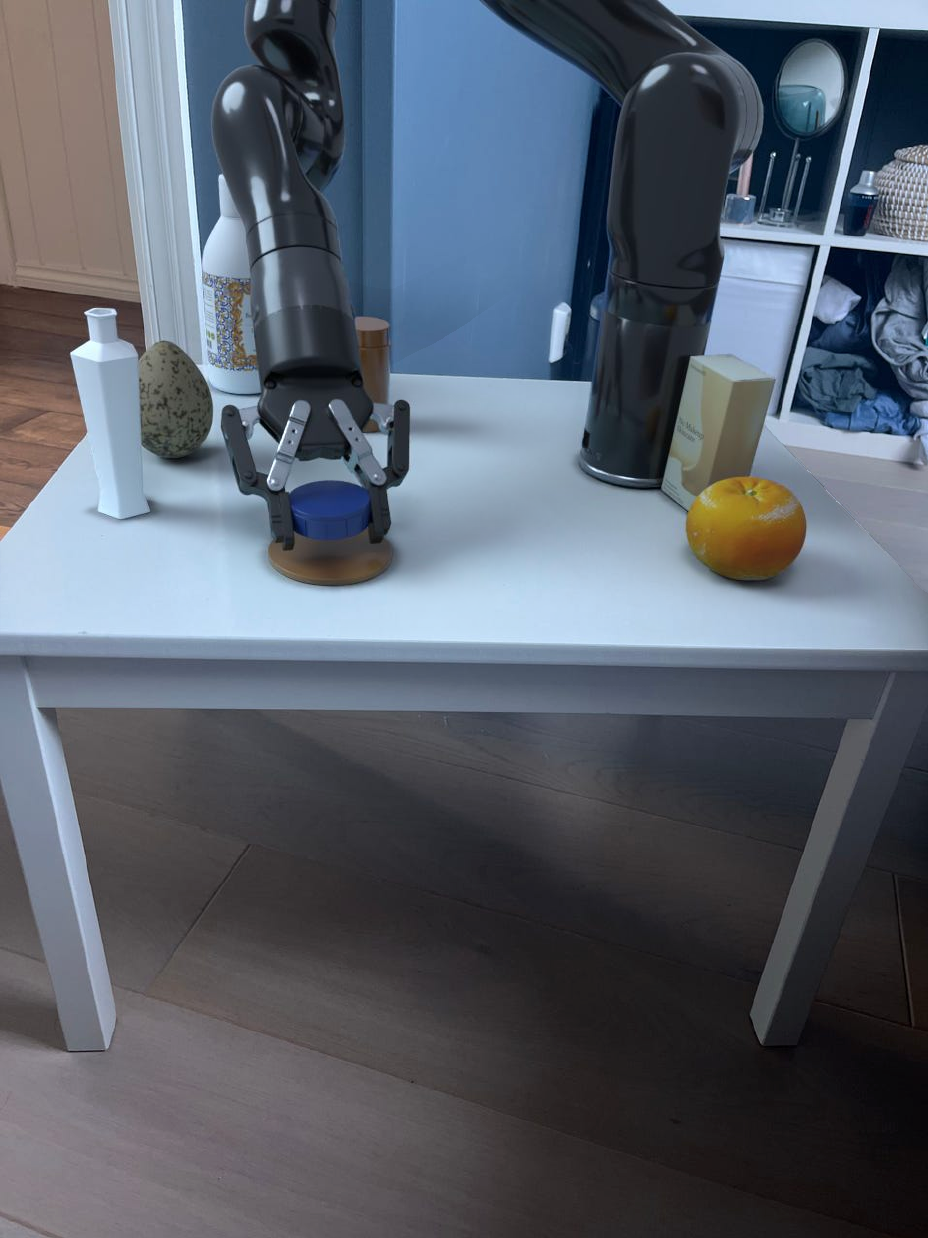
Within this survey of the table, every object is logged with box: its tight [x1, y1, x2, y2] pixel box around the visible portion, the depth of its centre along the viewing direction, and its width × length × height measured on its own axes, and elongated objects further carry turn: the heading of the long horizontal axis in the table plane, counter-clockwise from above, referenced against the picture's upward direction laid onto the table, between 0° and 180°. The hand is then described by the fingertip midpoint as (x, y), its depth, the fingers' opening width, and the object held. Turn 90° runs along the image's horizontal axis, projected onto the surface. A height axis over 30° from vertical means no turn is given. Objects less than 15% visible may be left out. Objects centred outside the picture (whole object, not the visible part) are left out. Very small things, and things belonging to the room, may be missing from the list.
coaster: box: [267, 528, 393, 586], centre depth 71 cm, size 9×9×1 cm
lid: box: [289, 479, 371, 540], centre depth 70 cm, size 6×6×2 cm
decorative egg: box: [138, 340, 214, 459], centre depth 82 cm, size 7×7×10 cm
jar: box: [355, 316, 392, 433], centre depth 92 cm, size 5×5×10 cm
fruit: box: [685, 476, 808, 581], centre depth 73 cm, size 8×8×8 cm
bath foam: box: [201, 173, 261, 395], centre depth 96 cm, size 7×7×20 cm
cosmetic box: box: [661, 353, 777, 512], centre depth 81 cm, size 6×4×12 cm
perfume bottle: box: [69, 307, 151, 520], centre depth 71 cm, size 5×4×15 cm
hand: (333, 543), depth 69 cm, fingers closed on lid, 5 cm apart
